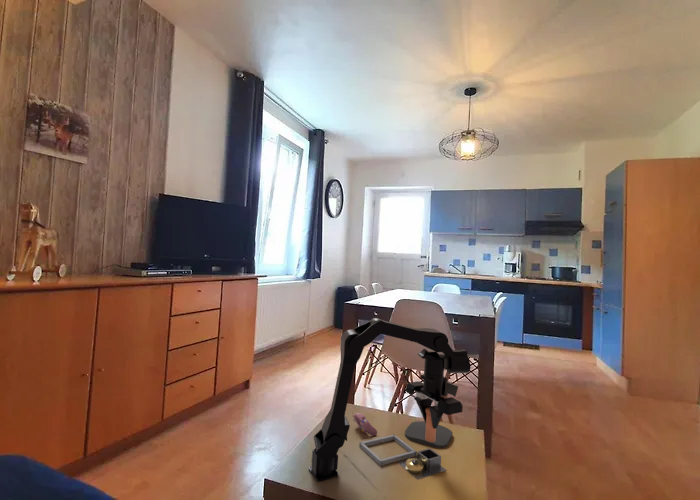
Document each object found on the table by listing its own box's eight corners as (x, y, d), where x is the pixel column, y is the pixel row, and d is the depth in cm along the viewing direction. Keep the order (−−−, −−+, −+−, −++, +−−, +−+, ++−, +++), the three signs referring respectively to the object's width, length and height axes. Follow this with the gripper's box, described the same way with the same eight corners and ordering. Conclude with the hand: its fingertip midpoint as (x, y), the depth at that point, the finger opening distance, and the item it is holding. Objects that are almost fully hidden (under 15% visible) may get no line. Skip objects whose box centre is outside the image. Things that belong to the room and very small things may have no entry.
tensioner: (417, 483, 99) (418, 468, 100) (397, 465, 107) (398, 452, 107) (446, 473, 105) (447, 459, 105) (425, 457, 113) (426, 444, 113)
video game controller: (356, 429, 132) (349, 412, 131) (366, 422, 134) (359, 405, 133) (367, 442, 123) (360, 425, 122) (379, 434, 125) (371, 417, 124)
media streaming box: (401, 441, 123) (401, 432, 123) (414, 425, 135) (414, 417, 136) (444, 455, 116) (445, 445, 116) (454, 436, 129) (454, 427, 129)
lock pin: (429, 443, 105) (431, 412, 105) (421, 437, 108) (423, 408, 108) (439, 441, 107) (440, 411, 107) (430, 435, 110) (432, 406, 110)
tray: (379, 469, 105) (380, 461, 105) (359, 449, 115) (359, 442, 115) (416, 458, 112) (416, 451, 112) (393, 441, 122) (394, 434, 122)
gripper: (477, 379, 104) (474, 435, 103) (432, 361, 120) (430, 409, 120) (449, 384, 98) (445, 442, 98) (405, 364, 115) (403, 414, 114)
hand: (430, 425), depth 108 cm, fingers closed on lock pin, 3 cm apart
